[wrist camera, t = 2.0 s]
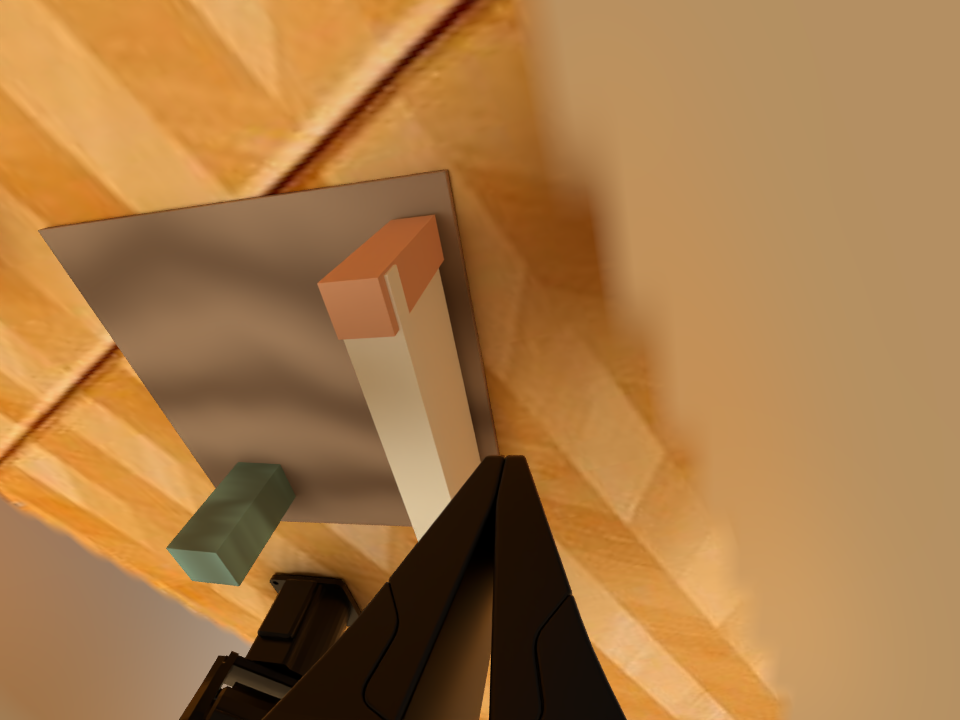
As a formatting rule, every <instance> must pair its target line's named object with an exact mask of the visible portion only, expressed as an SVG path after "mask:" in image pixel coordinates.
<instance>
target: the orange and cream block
mask: <svg viewBox="0 0 960 720" xmlns="http://www.w3.org/2000/svg"><path fill="white" fill-rule="evenodd" d="M443 261H444V257H443V252H442V247H441V242H440V237H439V233H438V228H437V223H436V218H435V215H427V216H419V217H411V218H403V219H395V220H390V221H389V222H388V223H387V224H386V225H385V226H383V227H382V228H381V229H380V230H379V231H378V232H376V233H375V234H374V235H373V236H372V237H371V238H369V239H368V240H367V241H366V242H365V243H364V244H362V245H361V246H360V247H359V248H358V249H357V250H355V251H354V252H353V253H352V254H351V255H350V256H348V257H347V258H346V259H345V260H344V261H343V262H341V263H340V264H339V265H338V266H337V267H336V268H334V269H333V270H332V271H331V272H330V273H329V274H327V275H326V276H325V277H324V278H323V279H322V280H320V281H319V282H318V283H317V285H318V287H319V290H320V292H321V295H322V298H323V300H324V303H325V306H326V308H327V311H328V314H329V316H330V319H331V322H332V324H333V327H334V330H335V332H336V335H337V337H338V340H344V343H345V345H346V348H347V351H348V354H349V356H350V359H351V362H352V364H353V367H354V370H355V372H356V375H357V378H358V381H359V383H360V386H361V389H362V391H363V394H364V397H365V399H366V402H367V405H368V408H369V410H370V413H371V416H372V418H373V421H374V424H375V426H376V429H377V432H378V434H379V437H380V440H381V443H382V445H383V448H384V451H385V453H386V456H387V459H388V461H389V464H390V467H391V470H392V472H393V475H394V478H395V480H396V483H397V486H398V488H399V491H400V494H401V497H402V499H403V502H404V505H405V507H406V510H407V513H408V515H409V518H410V521H411V524H412V526H413V529H414V532H415V534H416V537H417V540H418V542H419V540H420V539H421V538H422V536H423V535H424V534H425V533H426V531H427V530H428V529H429V528H430V526H431V525H432V524H433V522H434V521H435V520H436V519H437V517H438V516H439V515H440V514H441V512H442V511H443V510H444V509H445V507H446V506H447V505H448V503H449V502H450V501H451V500H452V498H453V497H454V496H455V495H456V493H457V492H458V491H459V490H460V488H461V487H462V486H463V484H464V483H465V482H466V481H467V479H468V478H469V477H470V476H471V474H472V473H473V472H474V471H475V469H476V468H477V467H478V465H479V464H480V463H481V461H480V456H479V452H478V447H477V443H476V438H475V433H474V429H473V424H472V419H471V415H470V410H469V406H468V401H467V396H466V392H465V387H464V383H463V378H462V373H461V369H460V364H459V359H458V355H457V350H456V346H455V341H454V336H453V332H452V327H451V323H450V318H449V313H448V309H447V304H446V299H445V295H444V290H443V286H442V281H441V276H440V272H439V267H440V265H441V264H442V262H443Z"/></svg>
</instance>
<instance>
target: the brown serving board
mask: <svg viewBox="0 0 960 720" xmlns="http://www.w3.org/2000/svg"><path fill="white" fill-rule="evenodd" d="M427 215H435V218H436V223H437V228H438V233H439V237H440V242H441V247H442V252H443V257H444V261H443V262H442V264H441V265H440V267H439V272H440V276H441V281H442V286H443V290H444V295H445V299H446V304H447V309H448V313H449V318H450V323H451V327H452V332H453V336H454V341H455V346H456V350H457V355H458V359H459V364H460V369H461V373H462V378H463V383H464V387H465V392H466V396H467V401H468V406H469V410H470V415H471V419H472V424H473V429H474V433H475V438H476V443H477V447H478V452H479V456H480V461H481V462H482V460H483V459H484V458H485V457H486V456H488V455H499V449H498V444H497V438H496V433H495V428H494V422H493V417H492V411H491V406H490V400H489V395H488V389H487V384H486V378H485V373H484V367H483V362H482V356H481V351H480V346H479V340H478V335H477V329H476V324H475V318H474V313H473V307H472V302H471V296H470V291H469V285H468V280H467V274H466V269H465V264H464V258H463V253H462V247H461V242H460V236H459V231H458V225H457V220H456V214H455V209H454V203H453V198H452V192H451V187H450V182H449V176H448V171H447V170H440V171H433V172H427V173H420V174H413V175H406V176H399V177H392V178H385V179H379V180H372V181H365V182H358V183H351V184H344V185H337V186H331V187H324V188H317V189H310V190H303V191H296V192H289V193H283V194H276V195H269V196H262V197H255V198H248V199H241V200H235V201H228V202H221V203H214V204H207V205H200V206H193V207H187V208H180V209H173V210H166V211H159V212H152V213H145V214H139V215H132V216H125V217H118V218H111V219H104V220H97V221H91V222H84V223H77V224H70V225H63V226H56V227H50V228H44V229H41V230H38V232H39V233H40V234H41V236H42V237H43V239H44V240H45V242H46V243H47V245H48V246H49V247H50V249H51V250H52V252H53V253H54V255H55V256H56V258H57V259H58V261H59V262H60V263H61V265H62V266H63V268H64V269H65V271H66V272H67V274H68V275H69V276H70V278H71V279H72V281H73V282H74V284H75V285H76V287H77V288H78V289H79V291H80V292H81V294H82V295H83V297H84V298H85V300H86V301H87V303H88V304H89V305H90V307H91V308H92V310H93V311H94V313H95V314H96V316H97V317H98V318H99V320H100V321H101V323H102V324H103V326H104V327H105V329H106V330H107V331H108V333H109V334H110V336H111V337H112V339H113V340H114V342H115V343H116V345H117V346H118V347H119V349H120V350H121V352H122V353H123V355H124V356H125V358H126V359H127V360H128V362H129V363H130V365H131V366H132V368H133V369H134V371H135V372H136V373H137V375H138V376H139V378H140V379H141V381H142V382H143V384H144V385H145V387H146V388H147V389H148V391H149V392H150V394H151V395H152V397H153V398H154V400H155V401H156V402H157V404H158V405H159V407H160V408H161V410H162V411H163V413H164V414H165V415H166V417H167V418H168V420H169V421H170V423H171V424H172V426H173V427H174V428H175V430H176V431H177V433H178V434H179V436H180V437H181V439H182V440H183V442H184V443H185V444H186V446H187V447H188V449H189V450H190V452H191V453H192V455H193V456H194V457H195V459H196V460H197V462H198V463H199V465H200V466H201V468H202V469H203V470H204V472H205V473H206V475H207V476H208V478H209V479H210V481H211V482H212V484H213V485H214V486H215V488H216V489H215V490H214V491H213V493H212V494H211V495H210V496H209V497H208V499H207V500H206V501H205V502H204V503H203V505H202V506H201V507H200V508H199V509H198V511H197V512H196V513H195V514H194V515H193V517H192V518H191V519H190V520H189V521H188V523H187V524H186V525H185V526H184V527H183V529H182V530H181V531H180V532H179V533H178V535H177V536H176V537H175V538H174V539H173V541H172V542H171V543H170V544H169V545H168V546H167V548H166V549H167V550H168V551H169V552H170V554H171V555H172V556H173V557H174V559H175V560H176V561H177V562H178V564H179V565H180V566H181V567H182V569H183V570H184V571H185V572H186V574H187V575H188V576H189V577H190V579H191V580H192V581H198V582H207V583H216V584H225V585H234V586H240V584H241V583H242V581H243V580H244V578H245V576H246V575H247V573H248V572H249V570H250V569H251V567H252V565H253V564H254V562H255V561H256V559H257V557H258V556H259V554H260V553H261V551H262V550H263V548H264V546H265V545H266V543H267V542H268V540H269V538H270V537H271V535H272V534H273V532H274V531H275V529H276V527H277V526H278V524H279V523H280V521H290V522H314V523H339V524H363V525H387V526H411V527H413V526H412V524H411V521H410V518H409V515H408V513H407V510H406V507H405V505H404V502H403V499H402V497H401V494H400V491H399V488H398V486H397V483H396V480H395V478H394V475H393V472H392V470H391V467H390V464H389V461H388V459H387V456H386V453H385V451H384V448H383V445H382V443H381V440H380V437H379V434H378V432H377V429H376V426H375V424H374V421H373V418H372V416H371V413H370V410H369V408H368V405H367V402H366V399H365V397H364V394H363V391H362V389H361V386H360V383H359V381H358V378H357V375H356V372H355V370H354V367H353V364H352V362H351V359H350V356H349V354H348V351H347V348H346V345H345V343H344V340H338V337H337V335H336V332H335V330H334V327H333V324H332V322H331V319H330V316H329V314H328V311H327V308H326V306H325V303H324V300H323V298H322V295H321V292H320V290H319V287H318V285H317V283H318V282H319V281H320V280H322V279H323V278H324V277H325V276H326V275H327V274H329V273H330V272H331V271H332V270H333V269H334V268H336V267H337V266H338V265H339V264H340V263H341V262H343V261H344V260H345V259H346V258H347V257H348V256H350V255H351V254H352V253H353V252H354V251H355V250H357V249H358V248H359V247H360V246H361V245H362V244H364V243H365V242H366V241H367V240H368V239H369V238H371V237H372V236H373V235H374V234H375V233H376V232H378V231H379V230H380V229H381V228H382V227H383V226H385V225H386V224H387V223H388V222H389V221H390V220H395V219H403V218H411V217H419V216H427Z"/></svg>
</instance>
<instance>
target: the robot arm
mask: <svg viewBox="0 0 960 720" xmlns="http://www.w3.org/2000/svg"><path fill="white" fill-rule="evenodd" d="M270 583H271V584H272V586H273V587H274V588H275V590H276V591H277V593H278V595H277V597H276V599H275V601H274V603H273V604H272V606H271V608H270V610H269V612H268V613H267V615H266V617H265V619H264V621H263V623H262V624H261V626H260V628H259V630H258V635H257V637H256V639H255V641H254V643H253V645H252V646H251V648H250V650H249V652H248V654H247V656H246V657H245V658H244V657H242V656H239V655H238V653H236V652H233V651H232V652H231V654H230V655H229V656H218V658H217V659H216V661H215V663H214V664H213V666H212V668H211V669H210V671H209V673H208V674H207V676H206V678H205V679H204V681H203V683H202V684H201V686H200V688H199V689H198V691H197V692H196V694H195V695H194V697H193V699H192V700H191V702H190V703H189V705H188V707H187V708H186V709H185V711H184V713H183V714H182V716H181V717H180V719H179V720H479V717H480V711H481V706H482V700H483V694H484V688H485V683H486V677H487V671H488V666H489V660H490V654H491V672H490V706H489V720H627V719H626V717H625V715H624V713H623V711H622V709H621V707H620V705H619V703H618V701H617V699H616V697H615V695H614V693H613V690H612V688H611V686H610V684H609V682H608V680H607V678H606V676H605V674H604V671H603V669H602V667H601V665H600V663H599V660H598V658H597V656H596V654H595V652H594V649H593V647H592V645H591V642H590V640H589V637H588V634H587V632H586V629H585V626H584V624H583V621H582V619H581V616H580V613H579V610H578V607H577V604H576V601H575V598H574V596H573V595H572V590H571V587H570V585H569V582H568V579H567V576H566V573H565V570H564V567H563V564H562V561H561V558H560V556H559V553H558V550H557V547H556V544H555V541H554V538H553V535H552V532H551V530H550V527H549V524H548V521H547V518H546V515H545V512H544V509H543V506H542V503H541V501H540V498H539V495H538V492H537V489H536V486H535V483H534V480H533V477H532V474H531V472H530V469H529V466H528V463H527V460H526V458H525V456H523V455H508V456H507V457H505V456H503V455H488V456H486V457H485V458H484V459H483V460H482V462H481V463H480V464H479V465H478V467H477V468H476V469H475V471H474V472H473V473H472V474H471V476H470V477H469V478H468V479H467V481H466V482H465V483H464V484H463V486H462V487H461V488H460V490H459V491H458V492H457V493H456V495H455V496H454V497H453V498H452V500H451V501H450V502H449V503H448V505H447V506H446V507H445V509H444V510H443V511H442V512H441V514H440V515H439V516H438V517H437V519H436V520H435V521H434V522H433V524H432V525H431V526H430V528H429V529H428V530H427V531H426V533H425V534H424V535H423V536H422V538H421V539H420V540H419V542H418V543H417V544H416V545H415V547H414V548H413V549H412V550H411V552H410V553H409V554H408V555H407V557H406V558H405V559H404V561H403V562H402V563H401V564H400V566H399V567H398V568H397V569H396V571H395V572H394V573H393V574H392V576H391V577H390V578H389V582H386V583H385V584H384V586H383V587H382V588H381V589H380V591H379V592H378V593H377V594H376V596H375V597H374V598H373V599H372V601H371V602H370V603H369V604H368V606H367V607H366V608H365V609H364V610H363V612H362V613H361V611H360V610H359V608H358V606H357V604H356V603H355V601H354V599H353V597H352V595H351V594H350V592H349V590H348V588H347V586H346V585H345V583H344V582H343V581H342V580H339V579H328V578H314V577H300V576H286V575H273V576H272V578H271V580H270ZM346 626H350V627H349V628H348V629H347V630H346V631H345V629H346ZM344 631H345V632H344ZM223 683H224V684H227V685H229V686H232V688H231V687H228V686H227V687H225V688H223V689H221V687H222V685H223Z"/></svg>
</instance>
